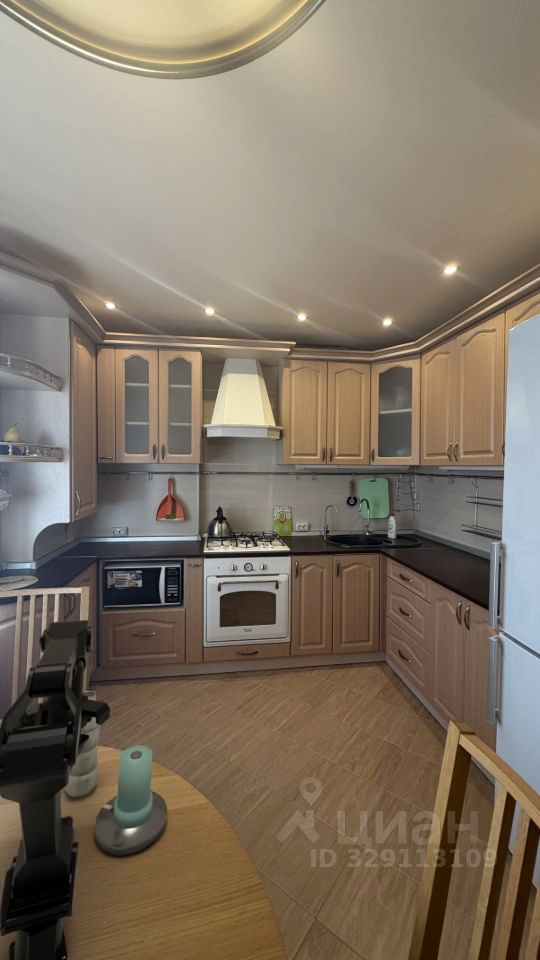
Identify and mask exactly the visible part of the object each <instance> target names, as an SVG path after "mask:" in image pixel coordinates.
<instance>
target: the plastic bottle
mask: <svg viewBox="0 0 540 960" xmlns="http://www.w3.org/2000/svg"><path fill="white" fill-rule="evenodd" d="M83 695H86V696H88V699H90V700H95V701H97V693H96V691H94V690H93V691H92V690H87V691H83ZM101 726H102V725H98V724H97V723H96V718H95V717H93V718H92V721H91V722H89V723H88V724H87V725H86V726H85V727H83V728H82V730H83V734H86V735H89V740H88V741H87V742H86V743H85V745H84V747H83V749H82V750H81V752H80V754H79V756H78V758H77V761H76V765H73V767H72V769H71V771H70V775H69V782H68V785H67V786H65V787H64V788H65V791H66V793H67V795H68V796H69V797H72V798H80V797H83V796H86V795H88V794H89V793H91V792H92V791H93V790H94V789H95V787H96V785H97V783H98V779H99V774H100V773H99V763H98V743H99V736H100V735H99V734H100V730H101Z"/></svg>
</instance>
